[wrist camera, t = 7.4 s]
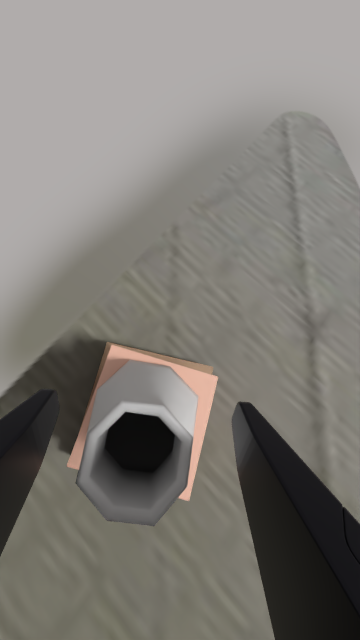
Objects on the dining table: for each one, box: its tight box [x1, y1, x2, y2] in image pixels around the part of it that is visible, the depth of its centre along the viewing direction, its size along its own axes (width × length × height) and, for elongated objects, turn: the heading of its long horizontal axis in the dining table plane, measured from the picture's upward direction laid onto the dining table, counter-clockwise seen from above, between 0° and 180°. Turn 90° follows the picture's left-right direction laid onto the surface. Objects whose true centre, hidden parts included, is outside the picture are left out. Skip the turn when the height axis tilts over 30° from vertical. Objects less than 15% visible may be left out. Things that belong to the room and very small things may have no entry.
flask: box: [76, 360, 199, 526], centre depth 12 cm, size 7×7×10 cm
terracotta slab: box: [67, 345, 218, 501], centre depth 18 cm, size 8×8×2 cm
